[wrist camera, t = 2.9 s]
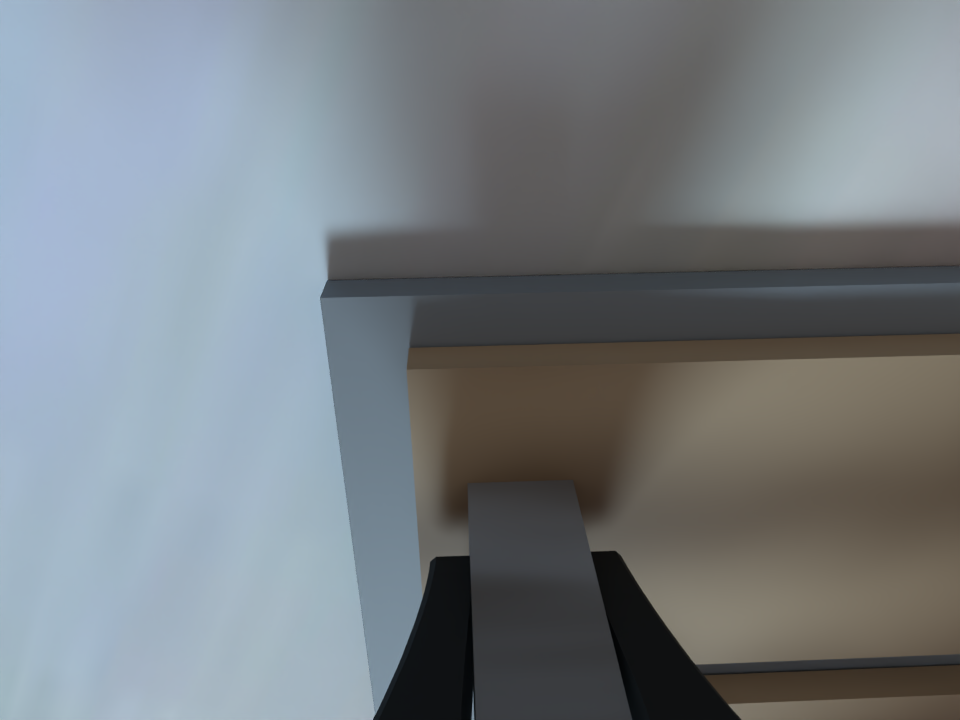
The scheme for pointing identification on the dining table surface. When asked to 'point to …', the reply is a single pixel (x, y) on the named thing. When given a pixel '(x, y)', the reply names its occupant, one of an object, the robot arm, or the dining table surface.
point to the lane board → (565, 320)
